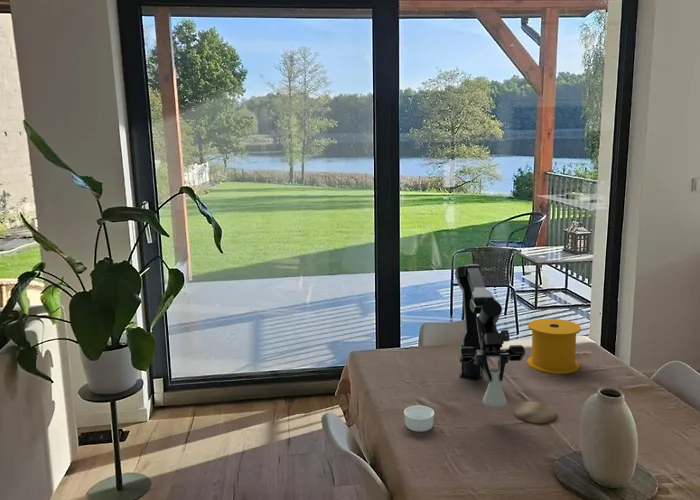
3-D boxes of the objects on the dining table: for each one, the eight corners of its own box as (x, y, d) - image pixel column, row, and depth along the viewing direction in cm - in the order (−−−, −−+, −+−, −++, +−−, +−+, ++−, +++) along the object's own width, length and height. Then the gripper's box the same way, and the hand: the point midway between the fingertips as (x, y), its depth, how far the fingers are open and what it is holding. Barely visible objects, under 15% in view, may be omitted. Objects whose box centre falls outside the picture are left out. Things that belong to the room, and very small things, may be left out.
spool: (583, 360, 215) (585, 322, 212) (573, 377, 200) (574, 336, 197) (534, 353, 225) (535, 315, 222) (521, 368, 210) (522, 328, 207)
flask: (507, 408, 166) (507, 375, 165) (482, 407, 168) (481, 374, 166) (507, 398, 173) (507, 366, 171) (482, 397, 175) (482, 365, 173)
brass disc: (508, 416, 173) (508, 413, 173) (521, 402, 183) (521, 398, 182) (548, 427, 166) (549, 423, 166) (560, 411, 176) (561, 407, 175)
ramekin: (437, 420, 172) (437, 407, 171) (431, 434, 164) (431, 420, 163) (407, 417, 175) (407, 403, 174) (400, 430, 167) (400, 416, 166)
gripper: (460, 321, 170) (467, 371, 161) (524, 319, 170) (534, 369, 161) (455, 337, 179) (462, 385, 170) (516, 335, 179) (525, 384, 170)
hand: (496, 381), depth 168 cm, fingers closed on flask, 3 cm apart
